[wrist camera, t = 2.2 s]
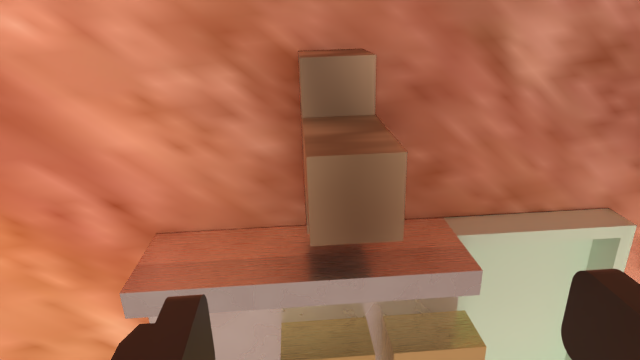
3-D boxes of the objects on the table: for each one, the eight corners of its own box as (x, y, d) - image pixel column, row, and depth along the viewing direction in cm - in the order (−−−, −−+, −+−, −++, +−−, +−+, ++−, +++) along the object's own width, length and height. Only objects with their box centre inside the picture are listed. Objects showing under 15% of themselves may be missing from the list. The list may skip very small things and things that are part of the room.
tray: (608, 208, 27) (636, 225, 25) (568, 372, 32) (589, 398, 30) (442, 217, 27) (456, 235, 25) (428, 382, 32) (439, 410, 30)
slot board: (442, 217, 27) (482, 270, 21) (428, 382, 32) (457, 460, 26) (156, 233, 26) (119, 293, 20) (188, 401, 31) (166, 485, 25)
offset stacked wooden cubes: (362, 48, 23) (411, 70, 14) (361, 200, 26) (400, 301, 17) (297, 50, 23) (303, 74, 13) (305, 202, 26) (312, 307, 17)
